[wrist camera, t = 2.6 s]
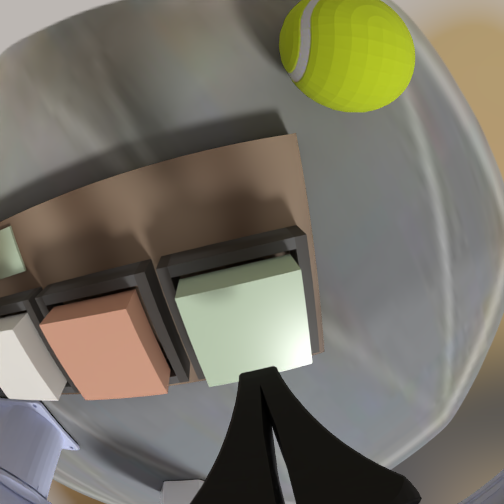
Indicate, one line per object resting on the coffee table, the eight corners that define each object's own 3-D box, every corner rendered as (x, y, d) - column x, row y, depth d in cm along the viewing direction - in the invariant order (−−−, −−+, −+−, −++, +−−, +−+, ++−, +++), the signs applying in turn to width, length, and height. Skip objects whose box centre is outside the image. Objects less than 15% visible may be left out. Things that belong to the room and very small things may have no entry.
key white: (18, 382, 15) (8, 398, 14) (-18, 321, 13) (-32, 336, 12) (67, 381, 16) (58, 400, 14) (27, 312, 14) (12, 329, 12)
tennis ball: (265, 12, 13) (294, -48, 6) (368, 28, 14) (430, -8, 7) (269, 115, 15) (306, 94, 9) (375, 122, 16) (449, 118, 10)
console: (35, 383, 19) (22, 407, 16) (-35, 240, 14) (-61, 254, 11) (317, 339, 20) (333, 368, 17) (288, 134, 15) (306, 131, 12)
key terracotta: (93, 379, 16) (85, 400, 14) (53, 306, 14) (39, 325, 12) (170, 370, 16) (167, 393, 14) (135, 289, 14) (125, 308, 12)
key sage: (209, 363, 16) (209, 387, 14) (179, 279, 14) (174, 298, 12) (302, 341, 17) (312, 363, 15) (290, 253, 15) (300, 269, 13)
